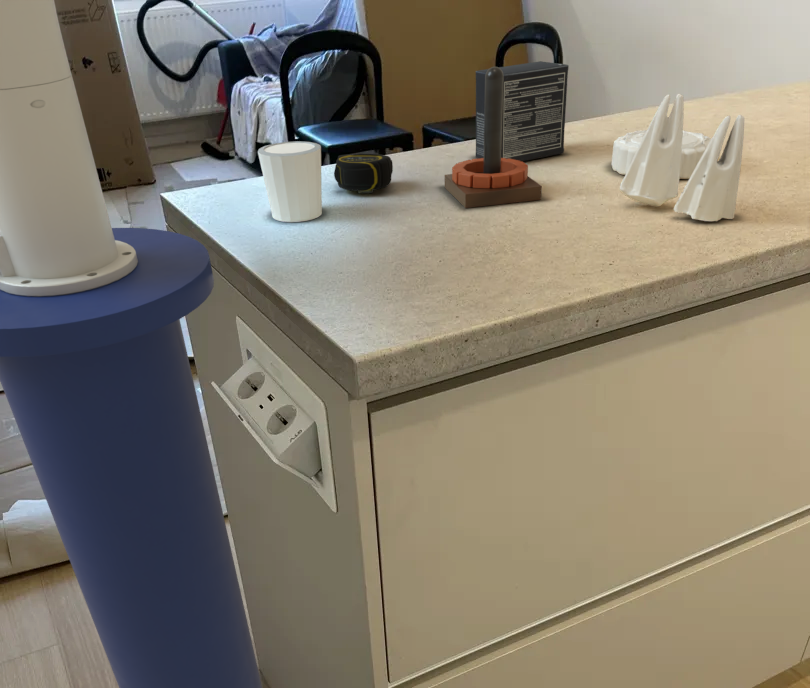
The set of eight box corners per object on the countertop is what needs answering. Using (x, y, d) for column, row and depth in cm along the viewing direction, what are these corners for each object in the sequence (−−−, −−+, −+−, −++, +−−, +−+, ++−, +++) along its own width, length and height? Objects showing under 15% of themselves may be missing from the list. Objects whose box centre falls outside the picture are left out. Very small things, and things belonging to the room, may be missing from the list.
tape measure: (394, 181, 100) (392, 149, 98) (389, 197, 95) (387, 163, 92) (340, 183, 101) (337, 150, 98) (332, 198, 95) (329, 164, 93)
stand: (465, 208, 90) (466, 76, 82) (444, 187, 97) (443, 64, 89) (541, 199, 91) (549, 69, 83) (515, 180, 98) (520, 58, 90)
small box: (536, 145, 112) (541, 59, 106) (565, 154, 108) (572, 64, 101) (472, 157, 108) (473, 68, 102) (499, 166, 104) (502, 74, 97)
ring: (464, 191, 90) (464, 179, 89) (444, 173, 97) (444, 161, 96) (537, 184, 91) (537, 172, 90) (513, 166, 98) (513, 154, 97)
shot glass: (307, 202, 95) (300, 137, 90) (339, 214, 90) (333, 146, 86) (256, 214, 91) (246, 147, 87) (285, 227, 87) (277, 158, 83)
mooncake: (632, 152, 107) (636, 123, 104) (723, 162, 101) (729, 131, 99) (595, 174, 99) (598, 142, 97) (691, 185, 93) (697, 152, 91)
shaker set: (614, 207, 88) (627, 94, 81) (634, 198, 90) (648, 87, 84) (718, 227, 81) (741, 105, 75) (736, 217, 84) (761, 97, 77)
